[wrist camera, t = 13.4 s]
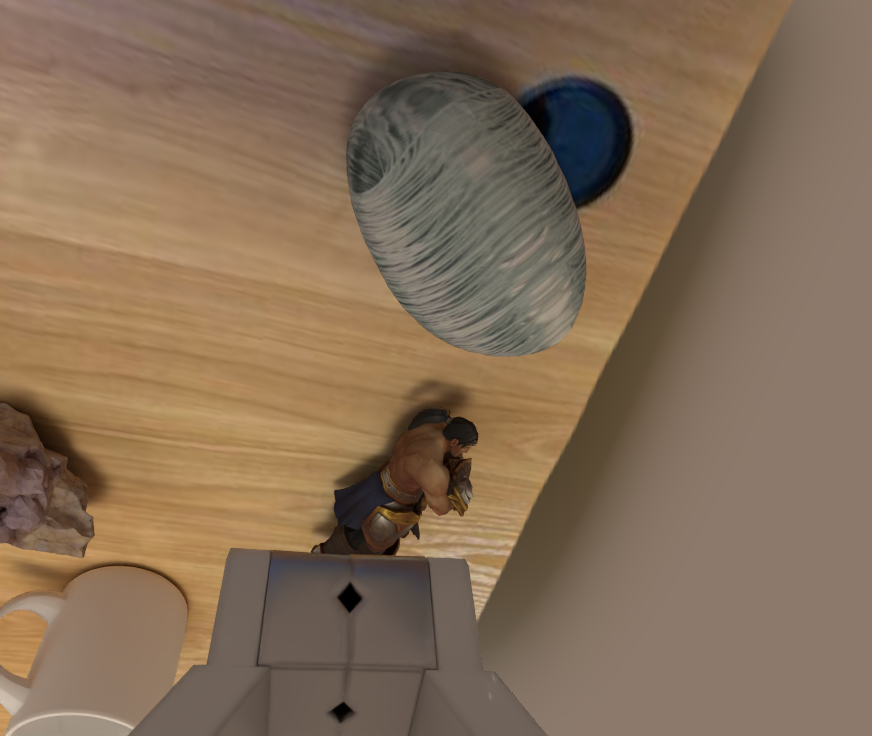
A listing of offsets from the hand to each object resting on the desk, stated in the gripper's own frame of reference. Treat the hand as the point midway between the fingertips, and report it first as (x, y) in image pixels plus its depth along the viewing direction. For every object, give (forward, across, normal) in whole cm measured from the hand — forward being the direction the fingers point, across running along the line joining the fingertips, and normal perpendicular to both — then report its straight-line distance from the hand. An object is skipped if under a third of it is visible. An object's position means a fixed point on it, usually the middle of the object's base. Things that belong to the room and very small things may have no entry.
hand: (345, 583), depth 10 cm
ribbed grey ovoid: (+29, -6, +6) cm, 30 cm away
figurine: (+28, -1, +31) cm, 42 cm away
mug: (+29, +14, +38) cm, 50 cm away
